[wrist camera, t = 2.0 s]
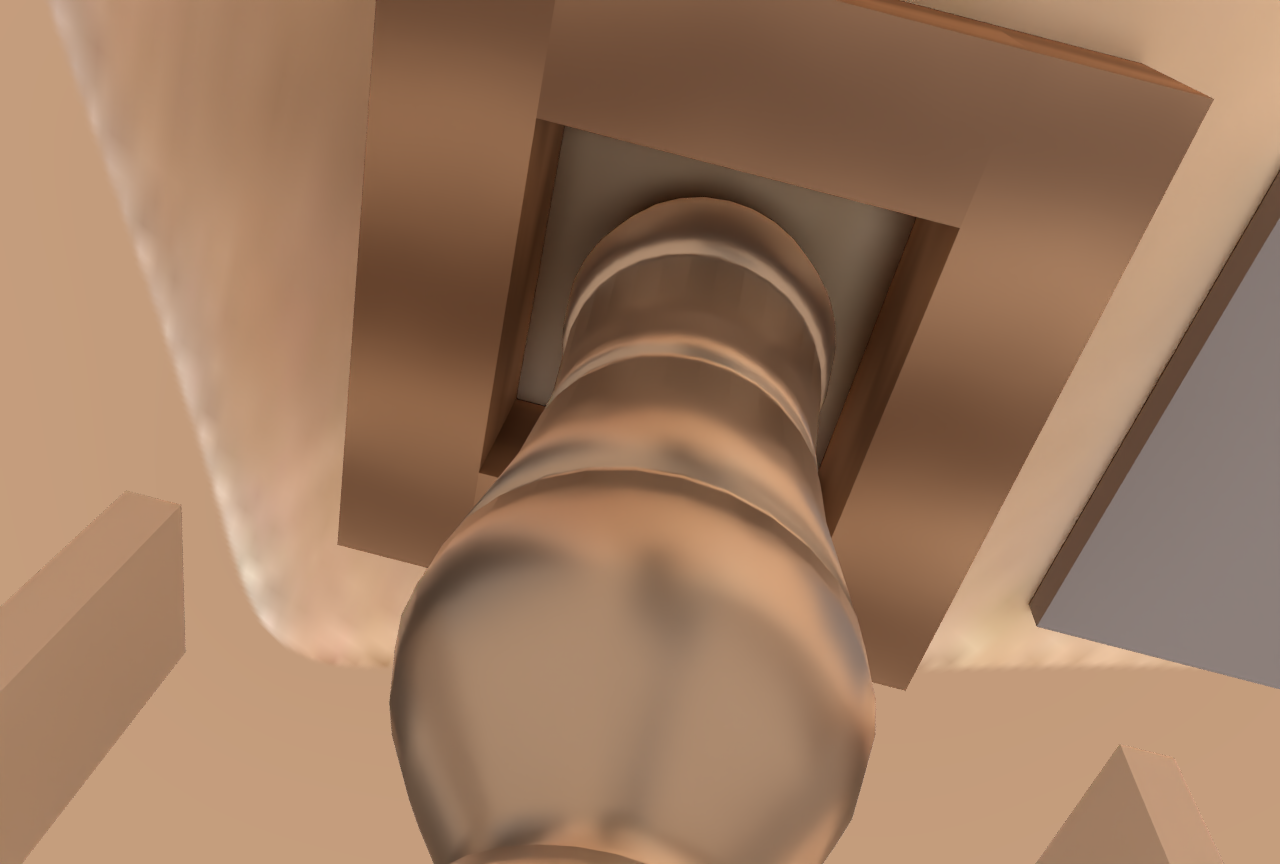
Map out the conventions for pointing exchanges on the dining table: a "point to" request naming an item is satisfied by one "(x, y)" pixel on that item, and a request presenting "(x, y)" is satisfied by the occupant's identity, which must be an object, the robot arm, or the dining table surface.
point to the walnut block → (776, 149)
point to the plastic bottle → (650, 582)
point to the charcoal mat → (1193, 493)
